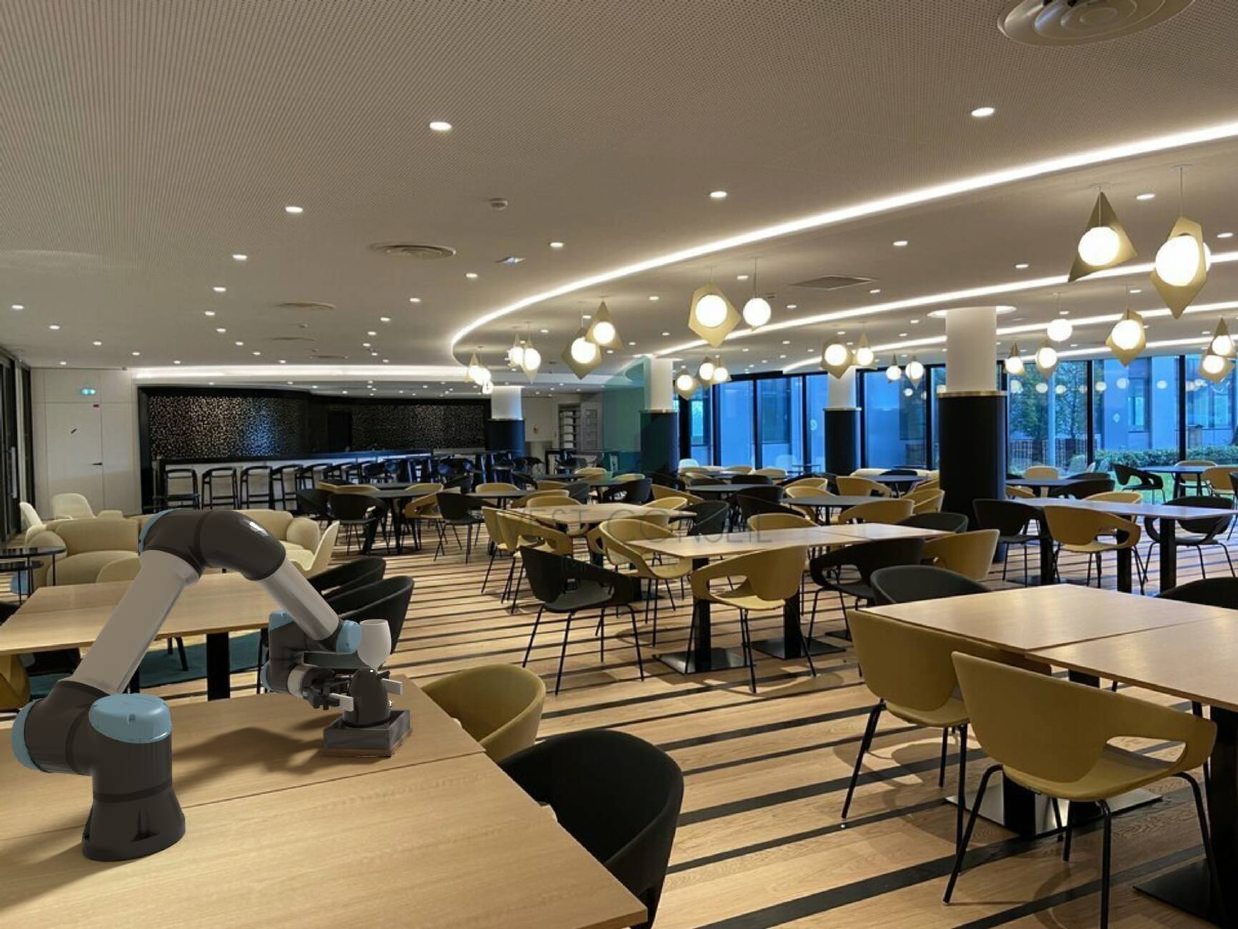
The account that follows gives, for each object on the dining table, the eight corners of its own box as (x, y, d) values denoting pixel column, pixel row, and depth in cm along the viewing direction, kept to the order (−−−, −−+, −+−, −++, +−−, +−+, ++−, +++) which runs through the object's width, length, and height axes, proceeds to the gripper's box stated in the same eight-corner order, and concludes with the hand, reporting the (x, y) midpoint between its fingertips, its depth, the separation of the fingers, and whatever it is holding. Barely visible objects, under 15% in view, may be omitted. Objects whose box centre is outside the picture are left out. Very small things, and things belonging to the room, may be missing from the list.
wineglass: (398, 701, 227) (396, 618, 226) (386, 711, 218) (384, 625, 217) (365, 700, 227) (363, 618, 227) (351, 711, 219) (349, 625, 218)
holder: (391, 757, 186) (390, 730, 186) (320, 756, 187) (320, 730, 187) (412, 733, 201) (412, 709, 201) (347, 733, 202) (346, 709, 202)
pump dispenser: (385, 744, 189) (383, 672, 189) (336, 745, 189) (334, 673, 189) (398, 729, 199) (396, 661, 199) (351, 730, 199) (349, 662, 199)
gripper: (357, 686, 214) (420, 699, 203) (265, 713, 194) (329, 730, 182) (357, 655, 214) (420, 666, 202) (264, 679, 193) (328, 693, 182)
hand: (377, 696), depth 192 cm, fingers open, 13 cm apart
